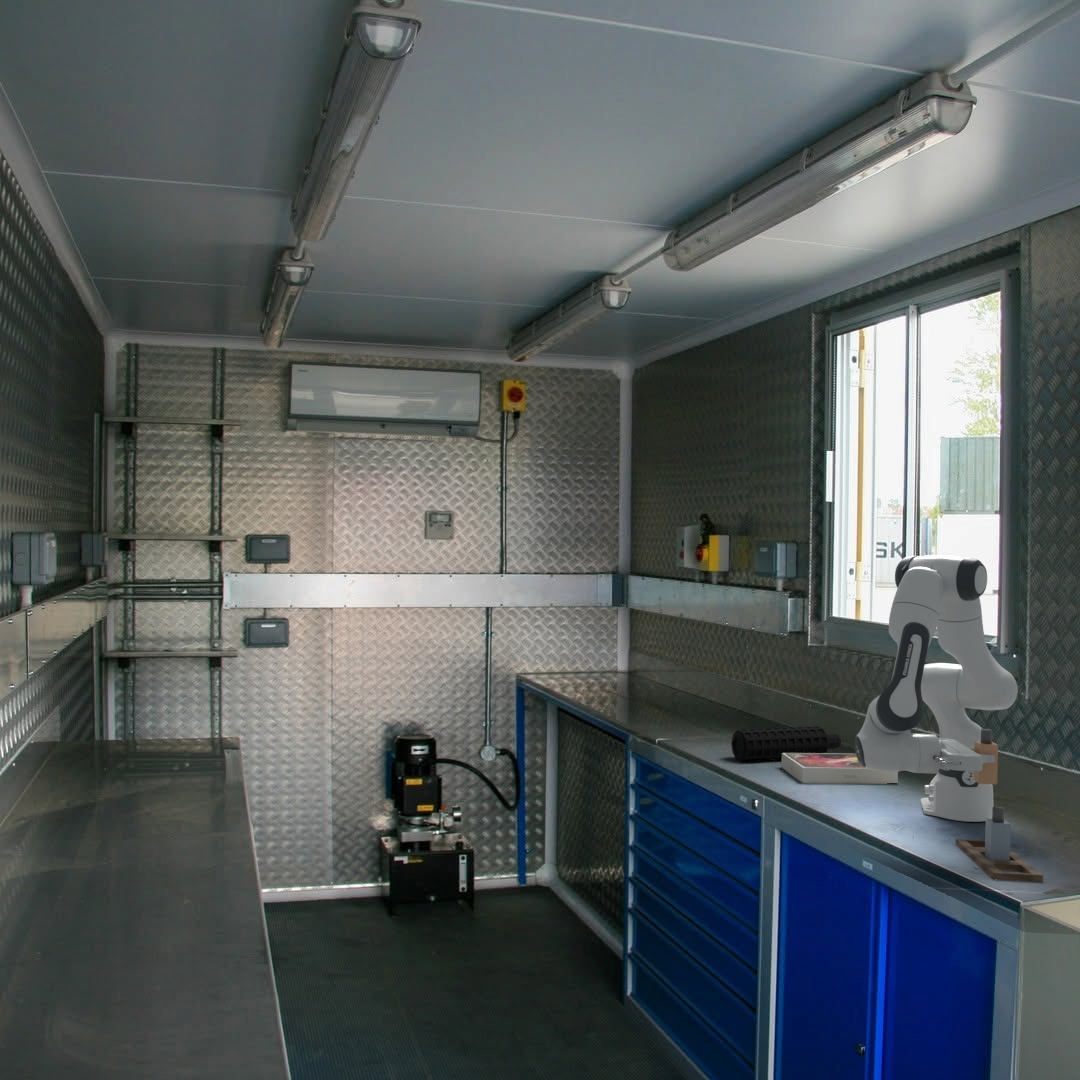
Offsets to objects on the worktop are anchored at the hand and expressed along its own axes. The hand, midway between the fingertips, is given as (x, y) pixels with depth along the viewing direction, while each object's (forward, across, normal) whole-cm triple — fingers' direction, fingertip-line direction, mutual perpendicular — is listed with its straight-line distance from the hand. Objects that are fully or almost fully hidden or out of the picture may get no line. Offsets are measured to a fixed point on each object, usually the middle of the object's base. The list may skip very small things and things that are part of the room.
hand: (990, 756), depth 250 cm
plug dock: (-1, -9, +22) cm, 24 cm away
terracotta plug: (-1, 0, +6) cm, 6 cm away
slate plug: (-1, -9, +22) cm, 24 cm away
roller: (-30, +101, +22) cm, 108 cm away
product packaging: (-19, +77, +23) cm, 82 cm away
